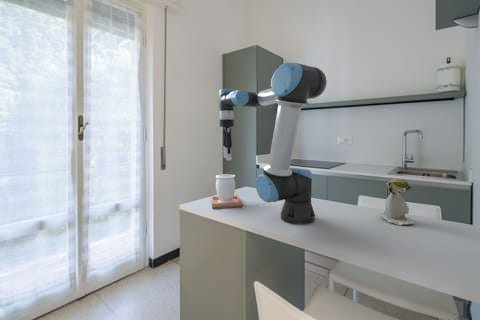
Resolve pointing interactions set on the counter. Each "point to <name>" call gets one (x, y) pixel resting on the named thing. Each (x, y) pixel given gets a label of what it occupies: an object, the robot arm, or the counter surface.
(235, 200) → the tray
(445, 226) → the counter surface
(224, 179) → the jar
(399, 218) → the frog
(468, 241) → the counter surface
